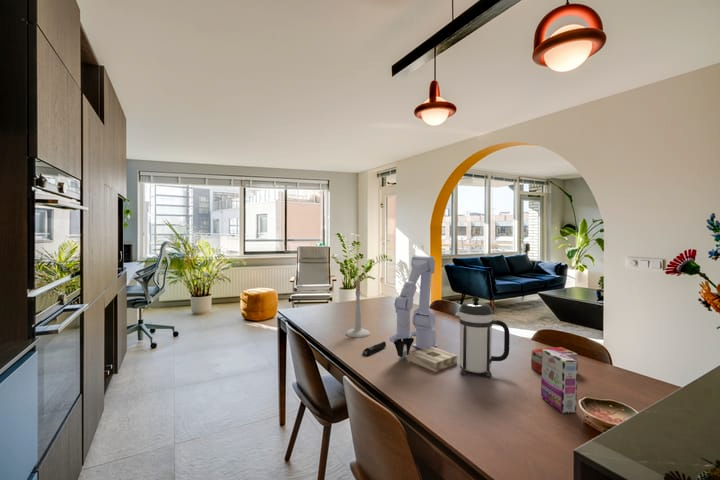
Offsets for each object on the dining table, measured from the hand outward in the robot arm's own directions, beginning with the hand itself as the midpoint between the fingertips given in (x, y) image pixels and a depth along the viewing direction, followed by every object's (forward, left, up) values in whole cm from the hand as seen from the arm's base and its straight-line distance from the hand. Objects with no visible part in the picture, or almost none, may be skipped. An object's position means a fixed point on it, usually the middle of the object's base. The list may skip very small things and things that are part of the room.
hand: (403, 355), depth 149 cm
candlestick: (-7, -41, -2) cm, 42 cm away
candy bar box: (-12, +58, -2) cm, 59 cm away
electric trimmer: (+3, -16, -2) cm, 16 cm away
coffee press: (-15, +27, -2) cm, 31 cm away
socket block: (-8, +10, -2) cm, 13 cm away
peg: (0, 0, -2) cm, 2 cm away
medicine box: (-40, +45, -2) cm, 60 cm away
